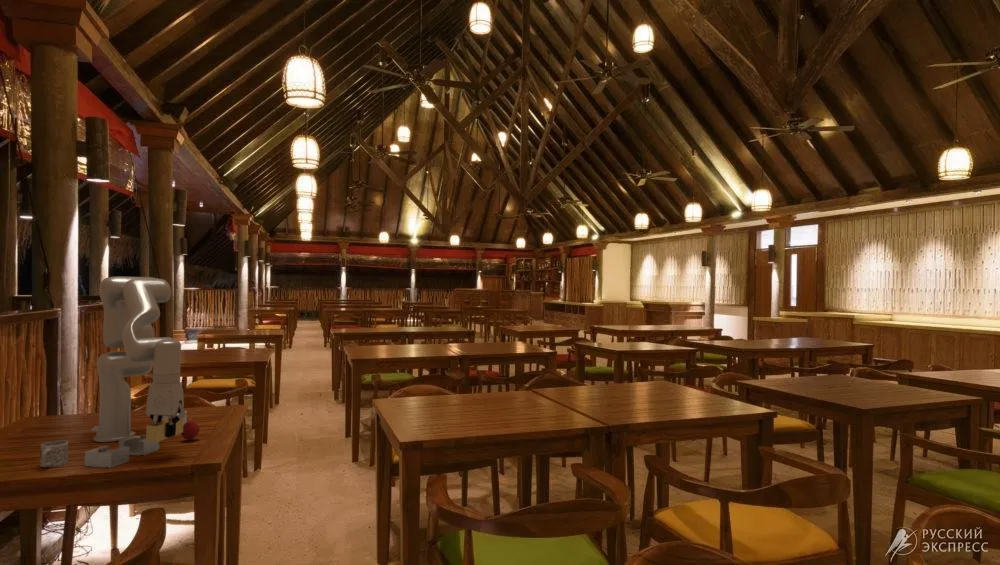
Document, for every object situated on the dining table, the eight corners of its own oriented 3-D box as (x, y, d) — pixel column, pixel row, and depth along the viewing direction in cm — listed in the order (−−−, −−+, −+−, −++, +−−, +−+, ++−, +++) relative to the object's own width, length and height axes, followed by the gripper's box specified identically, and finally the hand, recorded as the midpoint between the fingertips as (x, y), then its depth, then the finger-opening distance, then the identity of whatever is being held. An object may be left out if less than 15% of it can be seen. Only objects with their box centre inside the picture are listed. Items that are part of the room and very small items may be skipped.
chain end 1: (84, 466, 174) (84, 449, 174) (103, 459, 181) (103, 443, 181) (111, 467, 172) (111, 450, 172) (129, 460, 179) (129, 444, 179)
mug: (47, 462, 178) (48, 441, 178) (72, 460, 180) (72, 439, 180) (29, 472, 168) (29, 449, 169) (55, 470, 170) (55, 448, 170)
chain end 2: (118, 454, 186) (118, 439, 187) (135, 448, 193) (135, 433, 194) (143, 455, 185) (143, 439, 185) (159, 449, 192) (159, 434, 192)
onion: (190, 443, 200) (191, 420, 200) (176, 442, 201) (177, 420, 202) (202, 439, 206) (202, 417, 206) (188, 438, 207) (189, 416, 207)
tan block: (146, 441, 176) (146, 423, 176) (173, 431, 188) (173, 414, 188) (156, 442, 175) (156, 424, 175) (183, 432, 187) (183, 415, 187)
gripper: (134, 379, 179) (132, 437, 179) (182, 382, 177) (180, 441, 177) (152, 375, 186) (150, 431, 186) (198, 378, 184) (196, 434, 184)
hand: (165, 435), depth 182 cm, fingers closed on tan block, 3 cm apart
